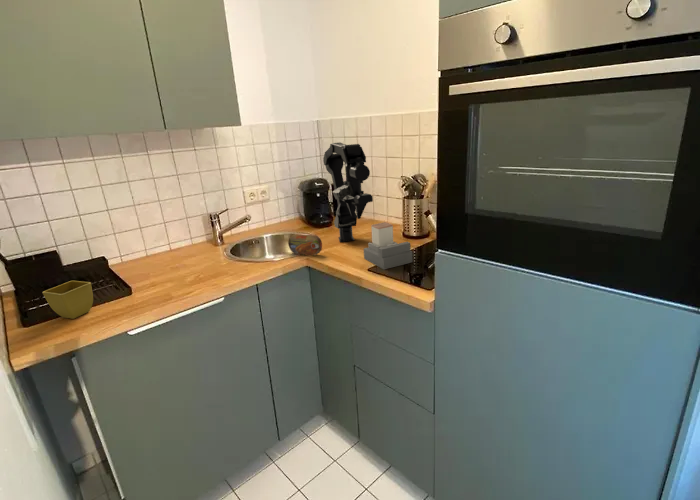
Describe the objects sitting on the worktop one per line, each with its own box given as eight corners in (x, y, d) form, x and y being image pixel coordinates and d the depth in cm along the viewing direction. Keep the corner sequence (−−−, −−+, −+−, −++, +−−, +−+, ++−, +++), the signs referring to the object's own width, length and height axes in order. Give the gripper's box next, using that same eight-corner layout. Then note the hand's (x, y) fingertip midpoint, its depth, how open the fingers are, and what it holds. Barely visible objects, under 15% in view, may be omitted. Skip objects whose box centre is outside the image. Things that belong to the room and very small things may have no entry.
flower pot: (50, 319, 110) (40, 291, 107) (80, 306, 117) (71, 279, 114) (71, 323, 106) (61, 294, 104) (100, 309, 114) (91, 282, 111)
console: (364, 258, 142) (363, 240, 140) (390, 252, 147) (390, 235, 145) (384, 269, 130) (383, 250, 128) (412, 262, 135) (412, 243, 133)
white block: (372, 247, 140) (371, 224, 138) (386, 244, 143) (385, 222, 140) (379, 250, 136) (378, 227, 133) (393, 247, 139) (392, 224, 136)
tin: (289, 253, 154) (286, 233, 151) (293, 251, 157) (291, 231, 154) (320, 257, 147) (318, 236, 145) (324, 254, 150) (322, 234, 147)
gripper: (324, 178, 150) (327, 216, 155) (345, 183, 134) (348, 225, 139) (349, 175, 154) (351, 212, 159) (372, 179, 138) (374, 220, 143)
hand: (355, 217), depth 150 cm, fingers open, 5 cm apart
